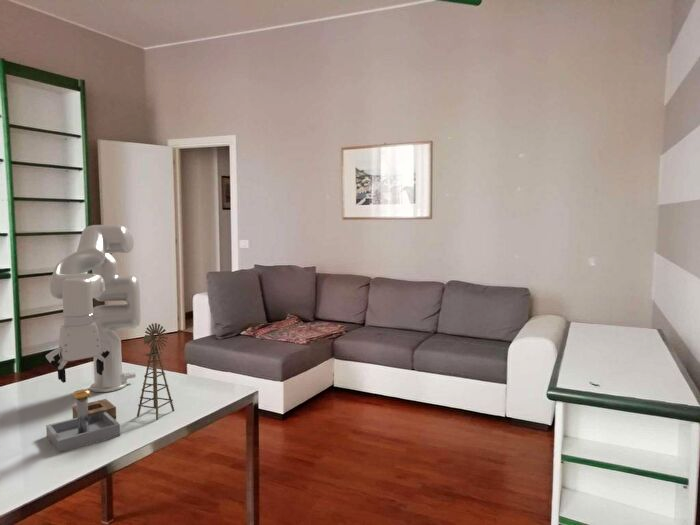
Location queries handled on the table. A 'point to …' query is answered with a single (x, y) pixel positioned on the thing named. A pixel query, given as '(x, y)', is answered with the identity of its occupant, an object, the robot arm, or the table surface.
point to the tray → (68, 437)
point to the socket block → (98, 409)
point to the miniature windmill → (154, 368)
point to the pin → (82, 409)
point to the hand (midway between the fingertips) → (81, 377)
